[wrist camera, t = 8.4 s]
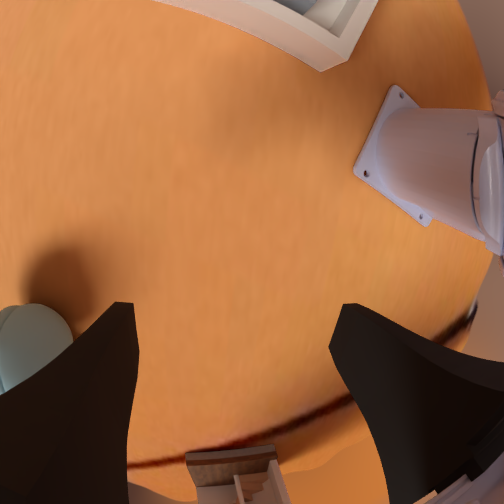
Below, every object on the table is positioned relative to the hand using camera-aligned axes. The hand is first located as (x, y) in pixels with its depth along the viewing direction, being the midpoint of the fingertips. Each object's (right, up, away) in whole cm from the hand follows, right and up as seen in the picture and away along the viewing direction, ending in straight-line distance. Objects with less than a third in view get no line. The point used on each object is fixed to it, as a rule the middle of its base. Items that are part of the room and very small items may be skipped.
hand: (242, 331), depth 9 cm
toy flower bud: (-16, -5, +9) cm, 19 cm away
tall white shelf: (-3, -27, +21) cm, 35 cm away
